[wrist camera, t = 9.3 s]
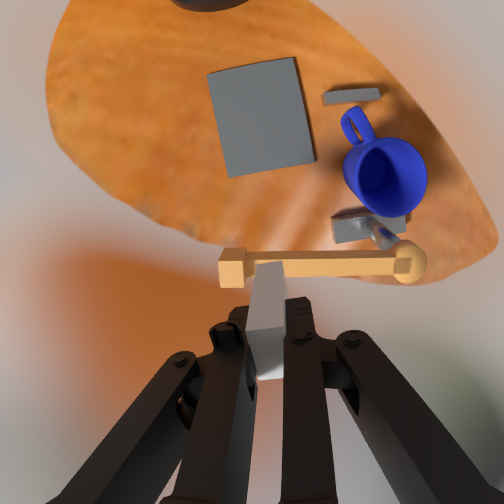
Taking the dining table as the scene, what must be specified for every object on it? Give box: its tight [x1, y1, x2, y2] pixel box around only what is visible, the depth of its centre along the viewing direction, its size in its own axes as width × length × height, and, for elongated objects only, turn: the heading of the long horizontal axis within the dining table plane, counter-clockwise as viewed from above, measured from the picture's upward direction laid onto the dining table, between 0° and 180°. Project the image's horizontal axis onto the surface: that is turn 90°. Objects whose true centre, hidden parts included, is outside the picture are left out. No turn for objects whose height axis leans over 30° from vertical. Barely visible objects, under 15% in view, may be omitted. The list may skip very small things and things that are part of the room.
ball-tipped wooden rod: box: [218, 240, 427, 288], centre depth 26 cm, size 19×4×3 cm, turn 93°
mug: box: [341, 106, 427, 218], centre depth 31 cm, size 8×12×10 cm
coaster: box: [207, 58, 315, 178], centre depth 35 cm, size 14×11×1 cm
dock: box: [321, 88, 406, 250], centre depth 30 cm, size 19×10×12 cm, turn 12°
